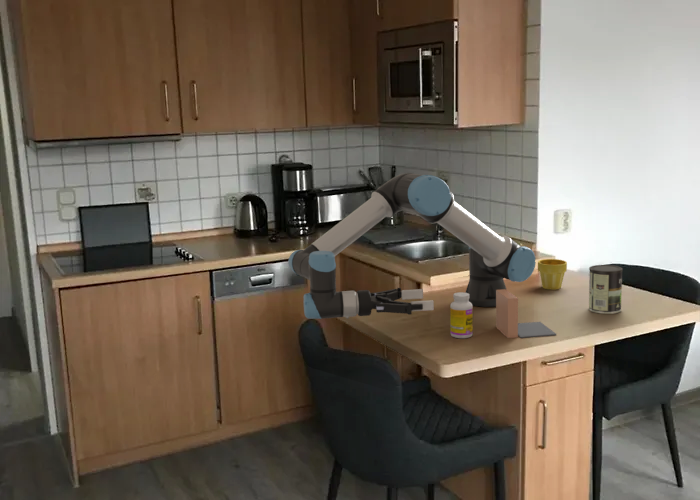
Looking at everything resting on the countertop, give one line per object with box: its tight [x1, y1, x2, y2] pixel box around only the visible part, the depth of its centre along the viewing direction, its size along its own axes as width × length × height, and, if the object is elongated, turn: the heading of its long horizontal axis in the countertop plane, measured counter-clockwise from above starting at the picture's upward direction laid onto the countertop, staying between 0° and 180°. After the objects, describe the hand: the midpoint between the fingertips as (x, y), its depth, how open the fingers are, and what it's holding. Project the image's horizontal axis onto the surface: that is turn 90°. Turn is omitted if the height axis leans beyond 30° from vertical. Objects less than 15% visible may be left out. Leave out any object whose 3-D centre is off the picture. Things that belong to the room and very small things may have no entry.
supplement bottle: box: [449, 291, 474, 339], centre depth 226 cm, size 7×7×13 cm
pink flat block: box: [495, 288, 519, 339], centre depth 228 cm, size 3×11×12 cm, turn 7°
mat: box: [518, 321, 557, 339], centre depth 230 cm, size 11×13×1 cm
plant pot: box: [537, 258, 568, 291], centre depth 279 cm, size 10×10×10 cm
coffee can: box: [588, 264, 624, 315], centre depth 247 cm, size 10×10×14 cm
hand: (428, 299), depth 224 cm, fingers open, 13 cm apart
